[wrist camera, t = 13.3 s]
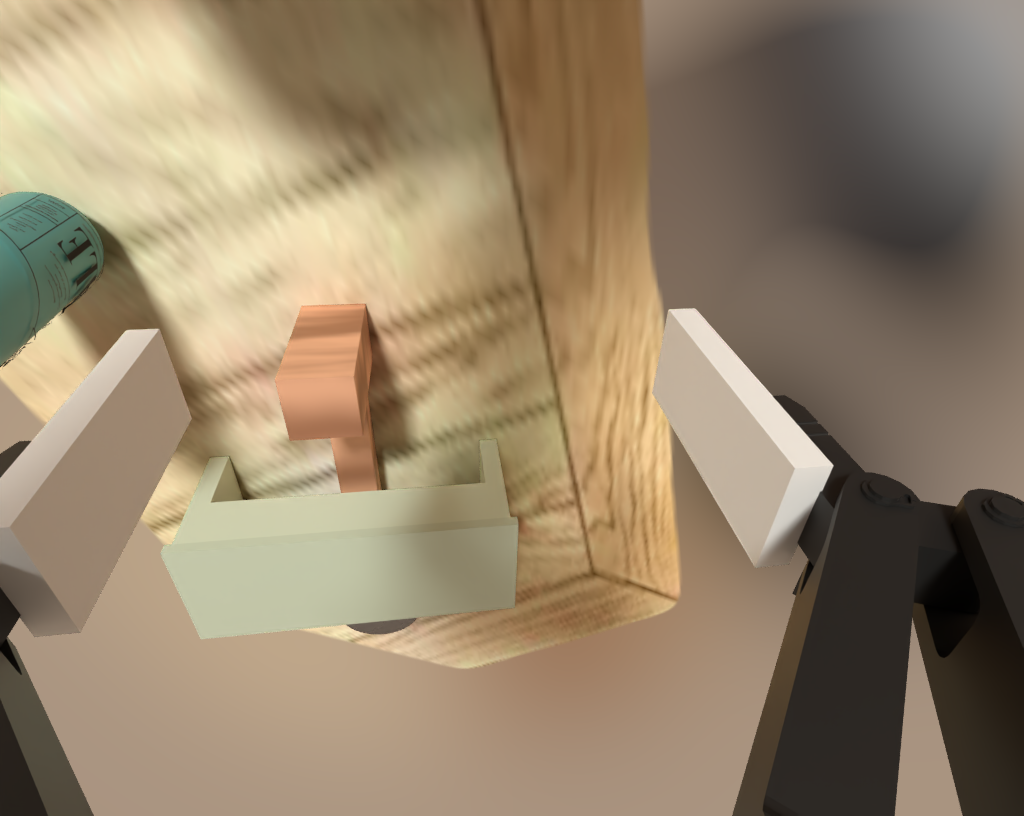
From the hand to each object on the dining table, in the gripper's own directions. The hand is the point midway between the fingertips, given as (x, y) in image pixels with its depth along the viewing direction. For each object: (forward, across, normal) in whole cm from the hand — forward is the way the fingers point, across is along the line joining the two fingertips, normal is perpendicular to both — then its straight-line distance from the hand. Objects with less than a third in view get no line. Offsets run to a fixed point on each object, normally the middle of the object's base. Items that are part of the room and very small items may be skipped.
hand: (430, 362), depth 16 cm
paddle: (+27, -7, -22) cm, 35 cm away
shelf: (+27, -7, -29) cm, 40 cm away
